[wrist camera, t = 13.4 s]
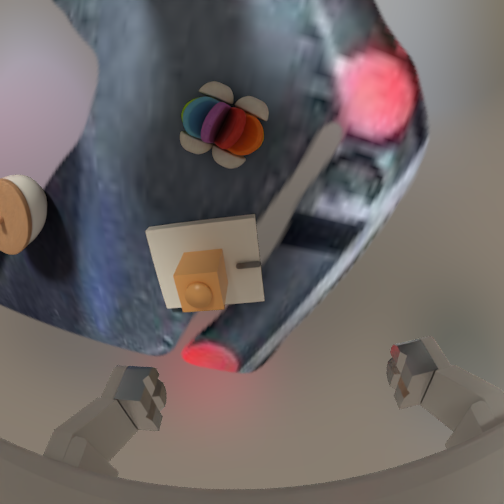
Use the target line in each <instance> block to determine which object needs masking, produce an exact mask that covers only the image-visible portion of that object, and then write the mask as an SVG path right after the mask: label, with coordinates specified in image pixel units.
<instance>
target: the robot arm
mask: <svg viewBox="0 0 504 504" xmlns="http://www.w3.org/2000/svg"><path fill="white" fill-rule="evenodd" d="M390 353H391V356H392V358H391V359H390V360H389V361H388V364H387V379H388V382H389V385H390V386H391V387H392V388H394V389H395V390H396V391H395V394H394V397H395V400H396V402H397V405H398V407H399V409H404V408H408V407H412V406H415V405H419V404H421V406H422V407H423V408H424V409H426V410H427V411H428V412H429V413H431V414H432V415H433V416H435V417H436V418H437V419H438V420H440V421H441V422H442V423H443V424H445V425H446V426H447V427H448V428H450V429H451V430H452V431H453V433H452V435H451V436H450V438H449V439H448V440H447V442H446V444H445V446H446V448H447V449H446V450H443V451H441V452H438V453H435V454H433V455H430V456H427V457H424V458H422V459H419V460H416V461H413V462H410V463H406V464H403V465H400V466H397V467H393V468H390V469H386V470H382V471H378V472H374V473H370V474H366V475H362V476H357V477H352V478H348V479H343V480H337V481H332V482H325V483H318V484H311V485H303V486H295V487H284V488H270V489H202V488H188V487H177V486H168V485H159V484H153V483H146V482H140V481H134V480H129V479H124V478H119V477H118V471H117V470H116V469H115V468H114V467H113V466H112V465H111V464H110V463H109V461H110V460H111V459H112V458H113V457H114V456H115V455H116V454H117V453H118V451H119V450H120V449H121V448H122V447H123V446H124V445H125V444H126V443H127V442H128V441H129V440H130V439H131V438H132V437H133V435H134V434H135V433H136V432H137V431H138V430H150V431H159V429H160V425H161V421H162V415H161V413H160V411H161V410H162V409H163V408H164V407H165V404H166V389H165V386H164V384H163V382H161V381H160V380H159V379H158V376H159V373H158V371H157V369H156V368H153V367H137V366H136V367H135V366H118V365H117V366H116V367H115V368H114V369H113V371H112V373H111V375H110V378H109V380H108V382H107V384H106V387H105V389H104V391H103V393H102V396H101V398H96V399H95V400H93V401H92V402H91V403H90V404H88V405H87V406H86V407H84V408H83V409H81V410H80V411H79V412H77V413H76V414H75V415H74V416H72V417H71V418H69V419H68V420H67V421H65V422H64V423H63V424H61V425H60V426H58V427H57V428H56V429H54V432H53V434H52V436H51V438H50V440H49V443H48V445H47V447H46V450H45V452H44V454H43V455H40V454H37V453H35V452H32V451H30V450H27V449H25V448H22V447H20V446H17V445H16V444H13V443H11V442H9V441H7V440H5V439H2V438H0V504H504V393H503V391H502V390H501V389H500V388H498V387H496V386H494V385H492V384H490V383H488V382H486V381H484V380H482V379H481V378H479V377H477V376H475V375H473V374H471V373H469V372H467V371H465V370H464V369H462V368H460V367H458V366H456V365H452V366H451V365H450V363H449V361H448V360H447V358H446V356H445V355H444V353H443V352H442V350H441V349H440V347H439V346H438V344H437V342H436V341H435V339H434V338H433V337H431V336H427V337H424V338H419V339H415V340H411V341H407V342H402V343H398V344H394V345H393V346H392V347H391V351H390Z"/></svg>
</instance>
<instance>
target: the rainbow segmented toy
mask: <svg viewBox="0 0 504 504" xmlns="http://www.w3.org/2000/svg"><path fill="white" fill-rule="evenodd" d="M199 92H200V93H202V94H204V95H207V96H209V97H198V98H195V99H192V100H191V101H189V102H188V103H187V104H186V105H185V106H184V108H183V110H182V113H181V118H182V122H183V126H184V128H185V130H186V131H181V132H180V142H181V145H182V147H183V148H184V149H185V150H187V151H189V152H191V153H194V154H203V153H205V152H207V151H209V150H210V149H211V148H212V155H213V158H214V160H215V161H216V162H217V163H218V164H220V165H221V166H223V167H226V168H229V169H233V168H237V167H239V166H240V165H242V164H243V163H244V162H245V160H246V159H245V157H243V156H242V155H248V154H250V153H252V152H254V151H255V150H257V149H258V148H259V147H260V146H261V145H262V143H263V140H264V130H263V127H262V125H261V123H260V121H259V120H258V119H257V118H259V119H261V120H264V121H267V120H268V116H269V111H268V107H267V105H266V104H265V103H264V102H262V101H261V100H259V99H257V98H255V97H252V96H246V97H243V98H240V99H239V100H238V101H237V102H236V103H235V104H234V106H236V108H235V107H232V108H231V106H229V105H228V104H230V105H232V104H233V99H234V96H233V92H232V90H231V89H230V87H228V86H226V85H224V84H222V83H219V82H216V81H212V82H208V83H206V84H204V85H203V86H202V87H201V88H200V89H199ZM214 143H215V144H214Z"/></svg>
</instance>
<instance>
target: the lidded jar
mask: <svg viewBox="0 0 504 504" xmlns="http://www.w3.org/2000/svg"><path fill="white" fill-rule="evenodd" d="M46 216H47V198H46V195H45V192H44V190H43V189H42V188H41V186H39V184H38V183H37V182H36V181H34V180H33V179H31V178H30V177H28V176H24V175H11V176H7V177H4V178H1V179H0V250H1V251H2V252H4V253H7V254H18V253H19V252H21V251H22V250H23V249H24V248H26V246H27V245H29V244H30V243H31V242H32V241H33V240H34V239H35V238H36V237H37V236H38V234H39V233H40V231H41V230H42V228H43V226H44V224H45V221H46Z"/></svg>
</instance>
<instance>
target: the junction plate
mask: <svg viewBox="0 0 504 504" xmlns="http://www.w3.org/2000/svg"><path fill="white" fill-rule="evenodd" d="M146 235H147V239H148V243H149V247H150V251H151V255H152V259H153V262H154V266H155V269H156V273H157V276H158V280H159V283H160V287H161V290H162V294H163V297H164V300H165V303H166V307H167V308H182V307H181V303H180V299H179V296H178V292H177V289H176V285H175V281H174V277H173V275H174V273H175V271H176V268H177V266H178V264H179V262H180V260H181V258H182V255H183V253H184V252H194V251H203V250H213V249H222V250H223V256H224V262H225V268H226V274H227V279H228V287H227V294H226V301H225V305H226V304H238V303H250V302H261V301H264V289H263V281H262V272H261V262H260V255H259V245H258V237H257V228H256V219H255V214H250V215H241V216H232V217H223V218H214V219H206V220H198V221H189V222H182V223H174V224H166V225H159V226H151V227H148V229H147V230H146Z"/></svg>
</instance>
